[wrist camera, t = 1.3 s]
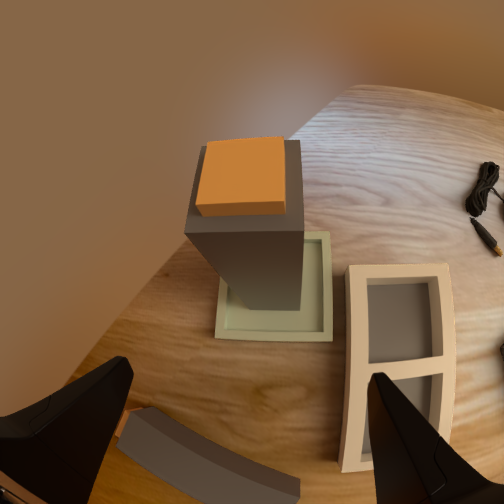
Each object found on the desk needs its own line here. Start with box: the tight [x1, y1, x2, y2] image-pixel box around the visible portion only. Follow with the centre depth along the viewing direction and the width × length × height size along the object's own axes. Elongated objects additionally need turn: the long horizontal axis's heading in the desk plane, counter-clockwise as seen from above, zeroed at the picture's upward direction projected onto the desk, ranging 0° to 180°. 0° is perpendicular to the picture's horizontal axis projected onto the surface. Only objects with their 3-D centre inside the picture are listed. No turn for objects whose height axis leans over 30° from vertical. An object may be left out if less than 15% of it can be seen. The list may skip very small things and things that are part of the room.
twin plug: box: [115, 406, 300, 504], centre depth 16 cm, size 15×4×4 cm, turn 65°
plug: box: [184, 137, 304, 311], centre depth 16 cm, size 4×4×15 cm
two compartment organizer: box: [337, 263, 456, 473], centre depth 18 cm, size 16×9×2 cm, turn 177°
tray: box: [215, 231, 333, 343], centre depth 22 cm, size 9×9×1 cm
